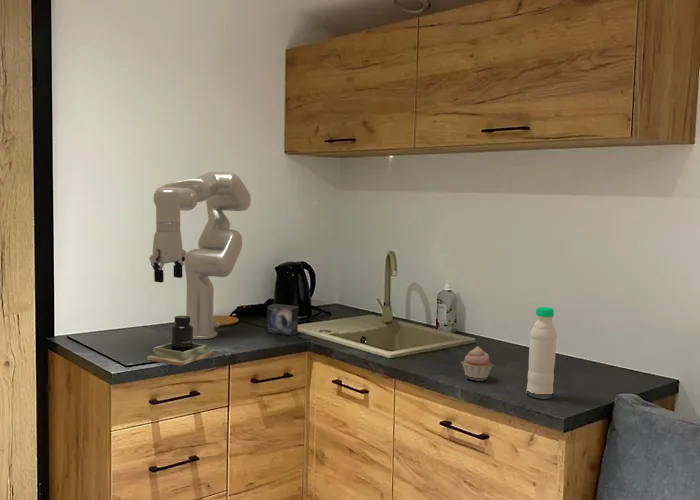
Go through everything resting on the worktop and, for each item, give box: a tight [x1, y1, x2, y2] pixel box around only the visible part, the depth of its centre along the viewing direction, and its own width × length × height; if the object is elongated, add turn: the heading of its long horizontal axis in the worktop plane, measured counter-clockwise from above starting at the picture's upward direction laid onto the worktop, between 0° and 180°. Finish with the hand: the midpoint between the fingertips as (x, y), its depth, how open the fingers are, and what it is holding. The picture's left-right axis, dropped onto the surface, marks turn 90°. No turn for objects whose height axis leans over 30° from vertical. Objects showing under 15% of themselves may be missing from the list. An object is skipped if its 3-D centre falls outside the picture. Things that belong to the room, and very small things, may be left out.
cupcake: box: [460, 345, 494, 378], centre depth 204 cm, size 9×9×10 cm
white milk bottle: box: [526, 306, 558, 394], centre depth 188 cm, size 7×7×25 cm
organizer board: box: [146, 342, 214, 367], centre depth 216 cm, size 16×13×4 cm
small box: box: [266, 303, 299, 337], centre depth 255 cm, size 11×6×10 cm, turn 72°
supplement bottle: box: [170, 315, 194, 352], centre depth 216 cm, size 7×7×12 cm
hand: (168, 279), depth 222 cm, fingers open, 9 cm apart
